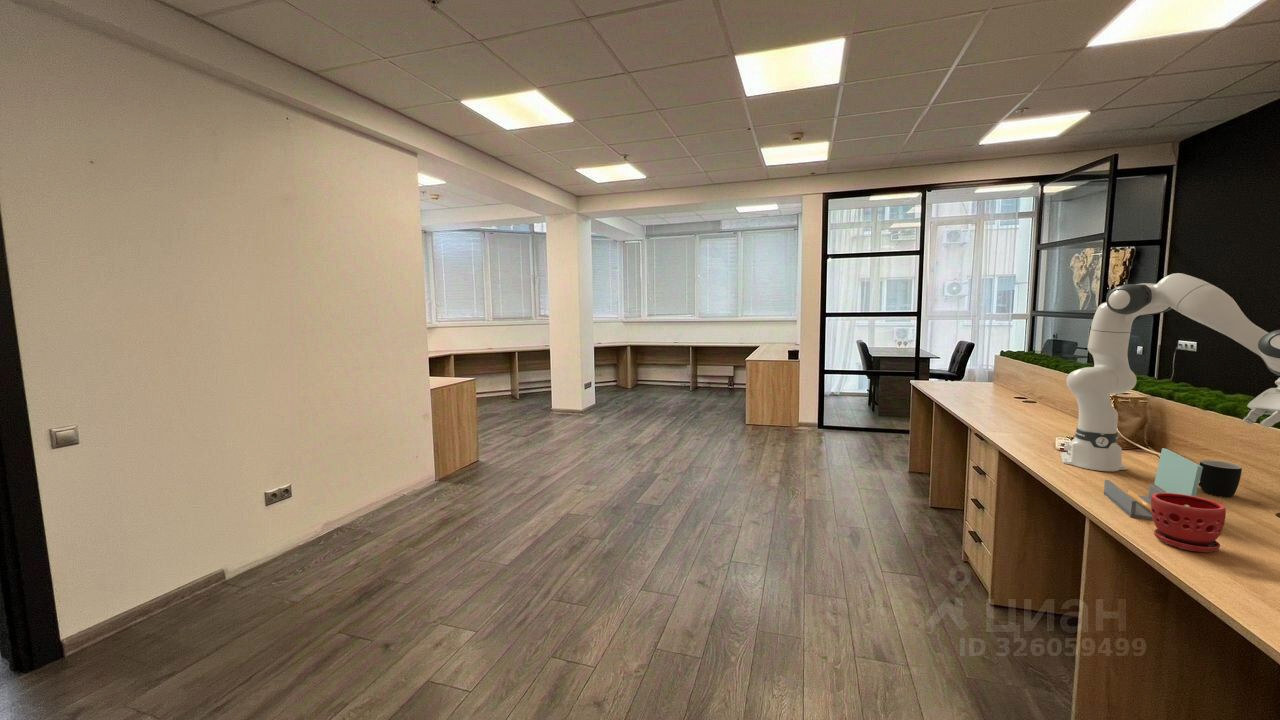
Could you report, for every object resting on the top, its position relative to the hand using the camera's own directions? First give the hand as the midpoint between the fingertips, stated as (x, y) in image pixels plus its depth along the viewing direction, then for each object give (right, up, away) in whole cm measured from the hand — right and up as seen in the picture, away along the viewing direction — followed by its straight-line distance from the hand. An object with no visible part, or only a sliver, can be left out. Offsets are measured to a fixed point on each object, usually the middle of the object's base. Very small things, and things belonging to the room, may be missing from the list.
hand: (1254, 424), depth 141 cm
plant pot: (-33, -30, -11) cm, 46 cm away
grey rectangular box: (-21, -27, +12) cm, 36 cm away
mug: (+14, -26, +23) cm, 38 cm away
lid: (-15, -16, +8) cm, 23 cm away
